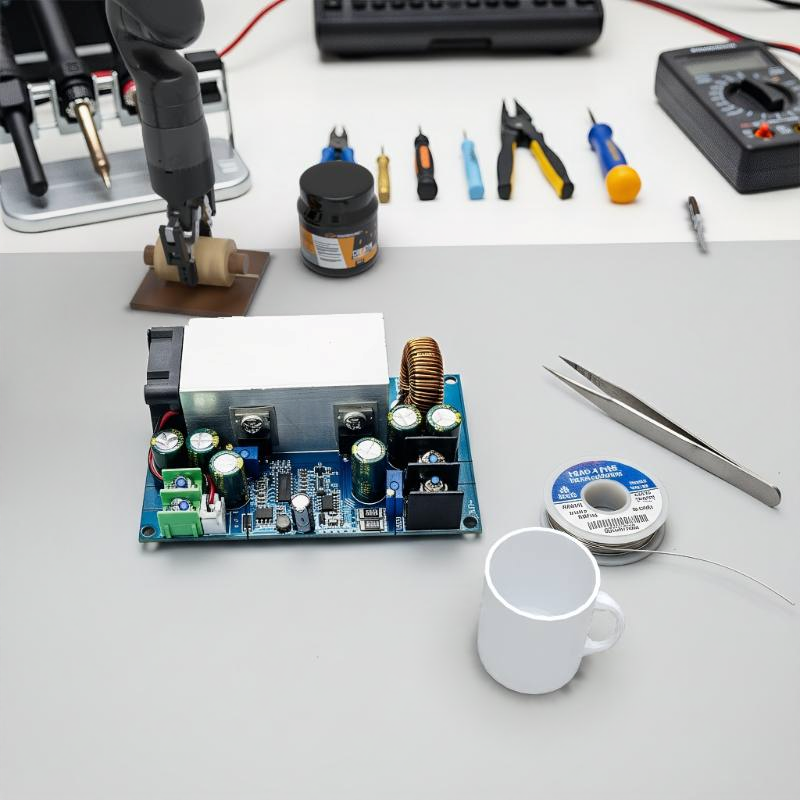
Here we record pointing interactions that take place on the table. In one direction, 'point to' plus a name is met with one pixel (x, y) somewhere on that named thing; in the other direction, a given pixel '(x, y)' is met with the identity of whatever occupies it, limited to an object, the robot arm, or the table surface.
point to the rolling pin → (202, 261)
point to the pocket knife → (696, 218)
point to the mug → (540, 610)
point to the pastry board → (202, 292)
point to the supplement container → (338, 218)
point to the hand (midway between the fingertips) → (197, 268)
